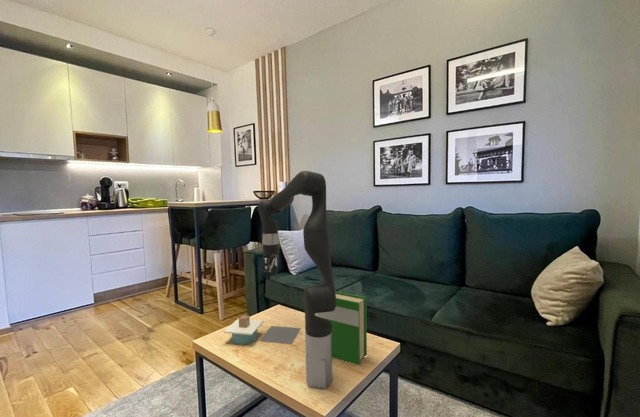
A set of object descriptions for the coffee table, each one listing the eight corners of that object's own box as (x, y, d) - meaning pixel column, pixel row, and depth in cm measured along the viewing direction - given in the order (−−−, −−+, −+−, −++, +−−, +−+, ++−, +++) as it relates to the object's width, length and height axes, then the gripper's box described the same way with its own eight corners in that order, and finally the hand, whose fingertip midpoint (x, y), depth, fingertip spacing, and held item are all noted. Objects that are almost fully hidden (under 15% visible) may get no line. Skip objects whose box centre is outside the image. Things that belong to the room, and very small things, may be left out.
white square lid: (251, 335, 122) (251, 324, 122) (223, 332, 125) (223, 322, 125) (263, 321, 135) (263, 312, 135) (238, 319, 138) (237, 310, 138)
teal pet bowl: (250, 346, 124) (250, 333, 124) (227, 344, 126) (227, 331, 126) (261, 334, 135) (260, 322, 134) (239, 332, 137) (239, 320, 137)
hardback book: (366, 356, 115) (366, 297, 114) (358, 366, 109) (358, 303, 107) (328, 344, 124) (327, 289, 123) (319, 353, 118) (318, 295, 117)
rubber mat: (291, 345, 124) (291, 344, 124) (259, 342, 127) (259, 341, 127) (301, 329, 139) (300, 328, 139) (271, 326, 142) (271, 325, 142)
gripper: (273, 245, 127) (274, 282, 127) (283, 240, 141) (283, 273, 141) (257, 245, 128) (258, 281, 129) (268, 240, 142) (269, 273, 143)
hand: (271, 277), depth 135 cm, fingers open, 8 cm apart
